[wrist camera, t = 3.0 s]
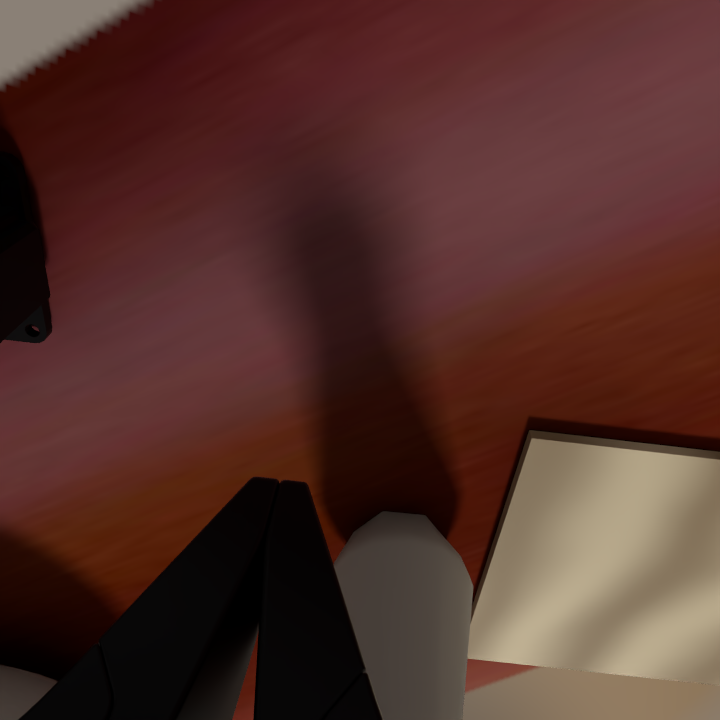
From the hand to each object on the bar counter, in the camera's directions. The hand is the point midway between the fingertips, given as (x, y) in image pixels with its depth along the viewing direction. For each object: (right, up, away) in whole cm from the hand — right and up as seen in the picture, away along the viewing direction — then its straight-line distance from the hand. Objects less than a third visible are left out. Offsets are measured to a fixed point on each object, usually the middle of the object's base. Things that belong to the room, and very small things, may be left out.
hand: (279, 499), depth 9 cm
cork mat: (+14, -7, +18) cm, 24 cm away
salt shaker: (+3, -6, +18) cm, 19 cm away
